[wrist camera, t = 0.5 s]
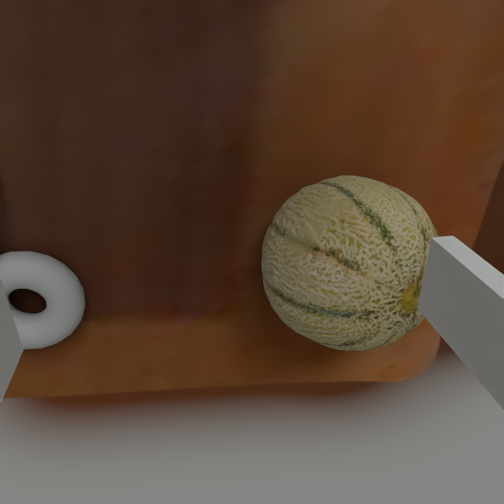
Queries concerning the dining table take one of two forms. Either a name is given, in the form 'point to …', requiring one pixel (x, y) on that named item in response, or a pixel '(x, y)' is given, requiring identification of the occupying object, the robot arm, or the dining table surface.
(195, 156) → the dining table surface
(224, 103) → the dining table surface
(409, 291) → the cantaloupe
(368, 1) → the dining table surface
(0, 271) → the donut
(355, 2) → the dining table surface
